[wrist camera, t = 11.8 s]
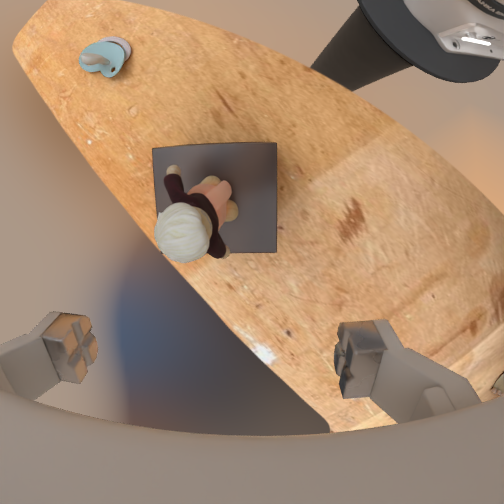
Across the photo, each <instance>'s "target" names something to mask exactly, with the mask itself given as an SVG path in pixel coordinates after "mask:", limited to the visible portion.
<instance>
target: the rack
mask: <svg viewBox="0 0 504 504" xmlns="http://www.w3.org/2000/svg"><path fill="white" fill-rule="evenodd" d="M152 156H153V173H154V187H155V200H156V211H157V220H158V215H159V212H160V213H162V212H164V210H165V209H166V208H167V207H169V206H170V205H173V203H172V201H171V199H170V197H169V194H168V192H167V190H166V188H165V186H164V177H165V176H166V175H167V169H168V167H169V166H171V165H177V166H179V168H180V169H181V174H180V175H181V179H182V182H183V186H184V192H185V193H188V192H189V190H190V189H192V188H193V187H194V186H196V185H198V184H200V183H201V182H202V181H203V180H204V179H205V178H206V177H208V176H216V177H218V178H219V179H220V180H221V182H222V181H223V180H225V181H227V182H228V183H229V184H230V186H231V190H232V194H231V196H230V198H229V199H228V200H232V201H234V202H235V203H236V204H237V207H238V211H239V212H238V216H237V218H236V219H235V220H233V221H229V222H224V223H223V225H222V226H221V227H220V229H219V231H218V233H219V234H220V236H221V238H222V240H223V242H224V244H225V245H226V246H228V247H229V249H230V253H276V252H277V143H276V142H231V143H207V144H187V145H176V146H167V147H158V148H152ZM161 253H162V251H161ZM162 254H164V253H162Z"/></svg>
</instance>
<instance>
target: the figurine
mask: <svg viewBox="0 0 504 504" xmlns="http://www.w3.org/2000/svg"><path fill="white" fill-rule="evenodd" d="M491 391H492V392H493V393H494V394H498V395H500V396H503V395H504V374H502V375H501V376H500V378H499V379H498V380H497V381H496V383H495V384H494V386H493V388H492V390H491Z"/></svg>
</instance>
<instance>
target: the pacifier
mask: <svg viewBox="0 0 504 504" xmlns="http://www.w3.org/2000/svg"><path fill="white" fill-rule="evenodd" d="M111 42H115V43H119V44H121V45H122V46H123V48H124V50H123V49H122V48H121V47H120V46H119V45H117V44H115V43H111ZM130 54H131V47H130V45H129V43H128V42H127V41H125V40H124V39H122V38H119V37H114V36H113V37H106V38H103V39H101V40H99V41H98V42H97V43H93V44H91V45H89V46H88V47H86V48H85V49H84V50H83V51H82V53H81V54H80V57H79V64H80V66H81V67H82V69H84V70H86V71H88V72H96V71H101V73H102V74H103V75H104V76H105V77H113V76H115V75H116V74H117V73H118V72H119V71H120V69H121V68H122V66H123V63H124V62H125V61H126V60H127V59H128V58H129V56H130ZM88 65H90V66H88ZM113 68H115V71H114V72H112V69H113Z"/></svg>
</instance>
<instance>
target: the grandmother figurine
mask: <svg viewBox="0 0 504 504" xmlns="http://www.w3.org/2000/svg"><path fill="white" fill-rule="evenodd" d="M180 174H181V169H180V168H179V166H177V165H171V166H169V167H168V169H167V175H166V176H165V177H164V186H165V188H166V190H167V192H168V194H169V197H170V199H171V201H172V203H173V205H170V206H169V207H167V208H166V209H165V210H164V212H162V213H160V212H159V215H158V220H157V223H156V226H155V229H154V233H155V234H154V236H155V240H156V242H157V244H158V247H159V249H160V250H161V251H162V253H164V254H165V255H167V257H168V258H170V259H171V260H173V261H178V262H181V263H188V262H191V261H194V260H197V259H199V258H201V257H203V256H204V255H205V254H206V253H208V254H209V255H211V256H212V257H214V258H217V259H219V258H222V259H224V258H227V257H228V256H229V254H230V249H229V247H228V246H226V245H225V244H224V242H223V240H222V238H221V236H220V234H219V233H218V231H219V229H220V227H221V226H222V225H223V223H224V222H229V221H233V220H235V219H236V218H237V216H238V212H239V211H238V207H237V204H236V203H235V202H234V201H232V200H228V199H229V198H230V196H231V194H232V190H231V186H230V184H229V183H228V182H227V181H225V180H223V181H222V182H221V180H220V179H219V178H218V177H216V176H208V177H206V178H205V179H204V180H203V181H202V182H201V183H200V184H198V185H196V186H194V187H193V188H192V189H190V190H189V192H188V193H185V192H184V186H183V182H182V179H181V175H180Z"/></svg>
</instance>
